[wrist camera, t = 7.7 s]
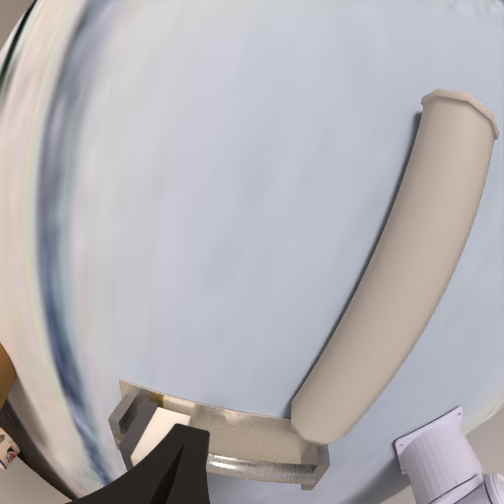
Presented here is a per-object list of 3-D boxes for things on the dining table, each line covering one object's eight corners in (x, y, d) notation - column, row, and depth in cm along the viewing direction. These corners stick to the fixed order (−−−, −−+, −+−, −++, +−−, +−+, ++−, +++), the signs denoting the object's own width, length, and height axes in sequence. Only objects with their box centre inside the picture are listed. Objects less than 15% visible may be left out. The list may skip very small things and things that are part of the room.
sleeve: (190, 416, 20) (169, 470, 14) (190, 449, 21) (173, 497, 15) (157, 406, 20) (130, 456, 14) (161, 441, 22) (140, 486, 16)
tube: (346, 453, 16) (510, 138, 10) (288, 460, 15) (471, 84, 8) (323, 408, 21) (453, 133, 15) (269, 407, 20) (408, 92, 13)
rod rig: (337, 421, 20) (344, 462, 15) (311, 467, 22) (313, 501, 17) (119, 378, 21) (95, 410, 17) (130, 430, 23) (112, 459, 18)
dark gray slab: (158, 403, 21) (132, 451, 15) (162, 440, 22) (142, 483, 16) (146, 399, 21) (118, 445, 15) (151, 436, 22) (130, 478, 16)
